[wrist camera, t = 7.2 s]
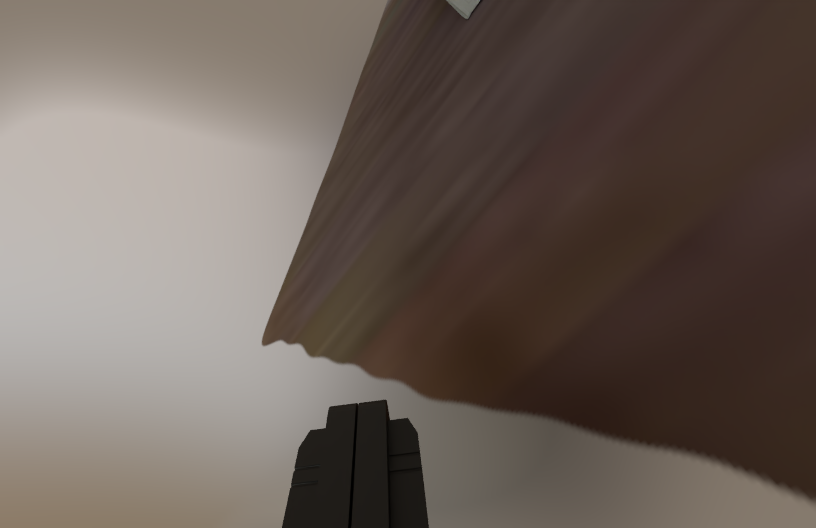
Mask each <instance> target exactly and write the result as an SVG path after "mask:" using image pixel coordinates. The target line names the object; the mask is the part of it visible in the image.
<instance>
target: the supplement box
mask: <svg viewBox="0 0 816 528" xmlns="http://www.w3.org/2000/svg"><path fill="white" fill-rule="evenodd" d="M446 1H447V2H448V3H449V4H450V5H451V6H452V7H453V8H454V9H455V10H456V11H457V12H458V13H459V14H460V15H461V16H463V17H464V18H465V19H468V18H469V17H470V15H471V12H472V11H473V10H474V8H475V7H476V6H477V4H478V3H479V2H480V0H446Z"/></svg>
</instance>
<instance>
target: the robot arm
mask: <svg viewBox="0 0 816 528" xmlns="http://www.w3.org/2000/svg"><path fill="white" fill-rule="evenodd" d="M282 528H429V525H428V517H427V508H426V499H425V491H424V482H423V473H422V465H421V457H420V450H419V441H418V433H417V431H416V430H415V428H414V427H413V425H412V424H411V423H410V421H409V419H408V418H404V419H396V420H390V418H389V412H388V405H387V400H380V401H372V402H364V403H359V406H358V404H357V403H355V404H347V405H339V406H331V407H329V410H328V417H327V423H326V428H324V429H317V430H310V432H309V433H308V435H307V436H306V438H305V440H304V441H303V442H302V444H301V445H300V447H299V450H298V454H297V459H296V464H295V471H294V473H293V478H292V483H291V488H290V492H289V497H288V502H287V507H286V511H285V516H284V520H283V526H282Z"/></svg>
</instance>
